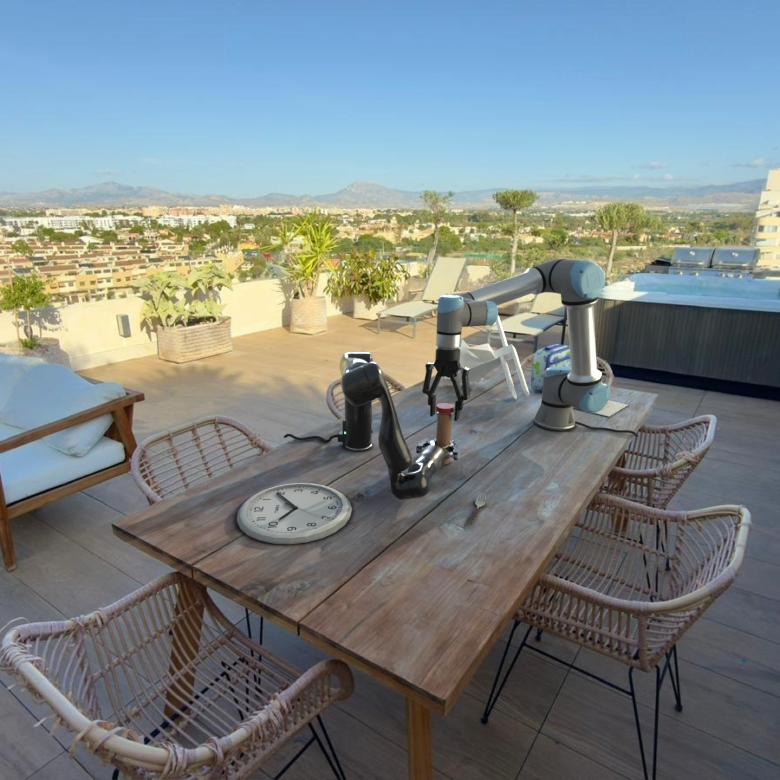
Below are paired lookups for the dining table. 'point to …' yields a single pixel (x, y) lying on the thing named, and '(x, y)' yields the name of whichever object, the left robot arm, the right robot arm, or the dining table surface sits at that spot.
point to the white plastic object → (489, 362)
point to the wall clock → (294, 513)
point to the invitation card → (611, 408)
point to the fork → (478, 503)
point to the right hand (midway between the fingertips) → (444, 417)
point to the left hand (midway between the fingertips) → (445, 441)
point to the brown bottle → (444, 431)
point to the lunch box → (548, 362)
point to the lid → (445, 408)
